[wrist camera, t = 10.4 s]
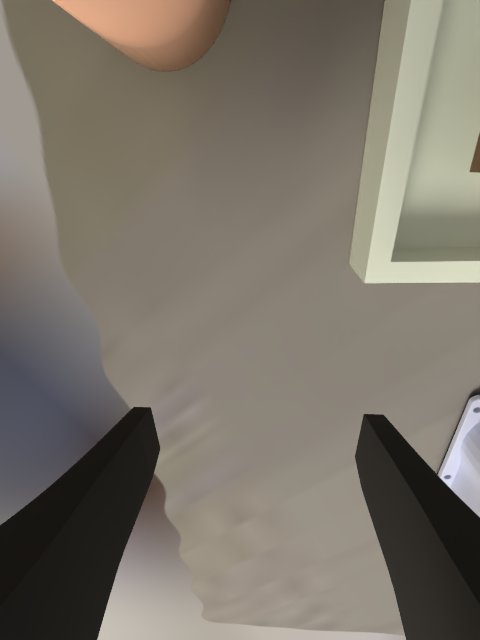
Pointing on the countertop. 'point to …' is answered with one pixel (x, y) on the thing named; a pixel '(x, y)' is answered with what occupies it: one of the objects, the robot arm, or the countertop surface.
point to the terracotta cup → (154, 28)
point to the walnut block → (476, 158)
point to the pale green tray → (422, 148)
